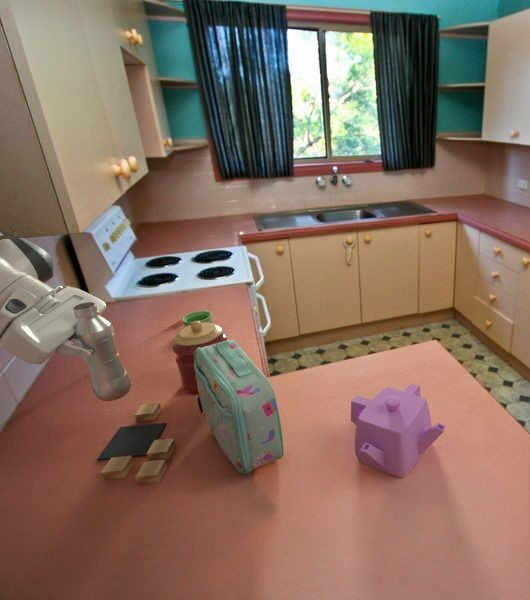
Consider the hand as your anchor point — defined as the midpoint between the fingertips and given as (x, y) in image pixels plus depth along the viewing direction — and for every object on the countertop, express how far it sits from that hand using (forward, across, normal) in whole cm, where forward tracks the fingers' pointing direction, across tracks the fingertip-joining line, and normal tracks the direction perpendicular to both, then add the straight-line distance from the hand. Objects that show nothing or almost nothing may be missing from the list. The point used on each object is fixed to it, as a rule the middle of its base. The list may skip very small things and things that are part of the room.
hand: (101, 346), depth 81 cm
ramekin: (+15, -56, -21) cm, 62 cm away
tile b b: (+22, +3, -13) cm, 26 cm away
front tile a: (+22, +9, -12) cm, 27 cm away
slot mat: (+16, -2, -18) cm, 25 cm away
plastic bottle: (+8, 0, -9) cm, 12 cm away
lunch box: (+34, +1, -2) cm, 34 cm away
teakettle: (+56, +9, +22) cm, 61 cm away
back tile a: (+16, -10, -19) cm, 27 cm away
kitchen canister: (+24, -24, -12) cm, 35 cm away
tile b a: (+17, +7, -18) cm, 26 cm away
